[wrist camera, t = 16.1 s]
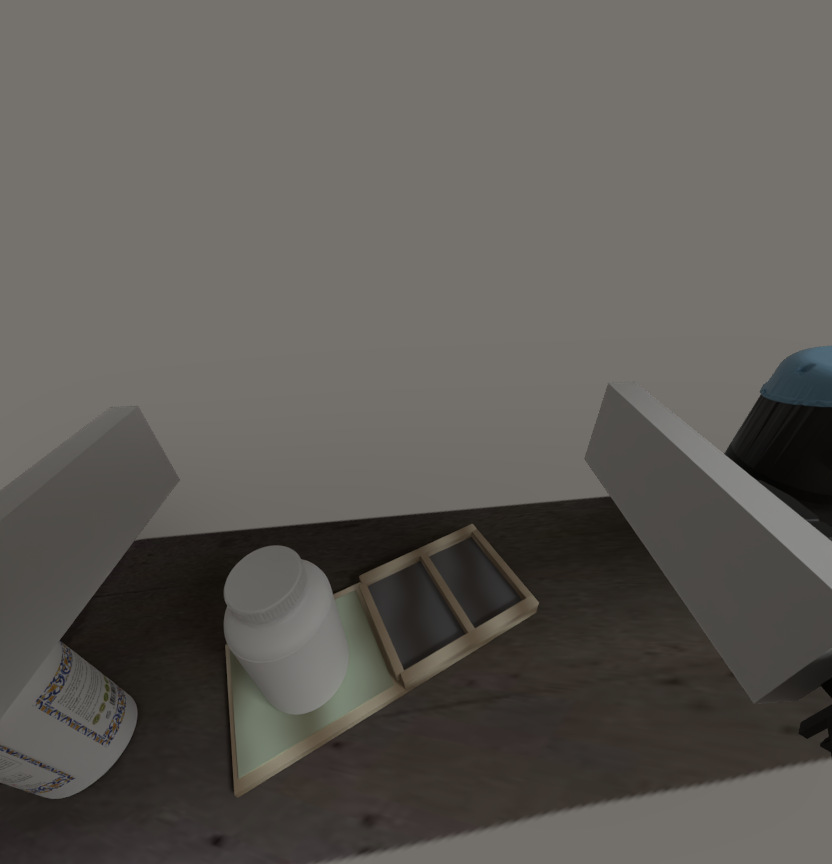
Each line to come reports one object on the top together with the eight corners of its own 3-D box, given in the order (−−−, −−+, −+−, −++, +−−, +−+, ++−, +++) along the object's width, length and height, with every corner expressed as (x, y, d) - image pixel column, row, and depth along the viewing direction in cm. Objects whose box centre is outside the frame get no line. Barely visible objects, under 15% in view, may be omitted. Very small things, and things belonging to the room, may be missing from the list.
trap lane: (471, 533, 47) (472, 523, 45) (535, 612, 38) (539, 602, 37) (228, 648, 36) (221, 639, 35) (237, 797, 27) (229, 791, 26)
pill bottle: (263, 734, 29) (191, 652, 21) (265, 638, 35) (211, 544, 27) (357, 698, 31) (327, 608, 22) (343, 613, 37) (316, 517, 29)
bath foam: (120, 677, 34) (-40, 547, 22) (155, 727, 31) (-13, 605, 19) (27, 757, 29) (-236, 644, 18) (56, 826, 26) (-244, 742, 14)
